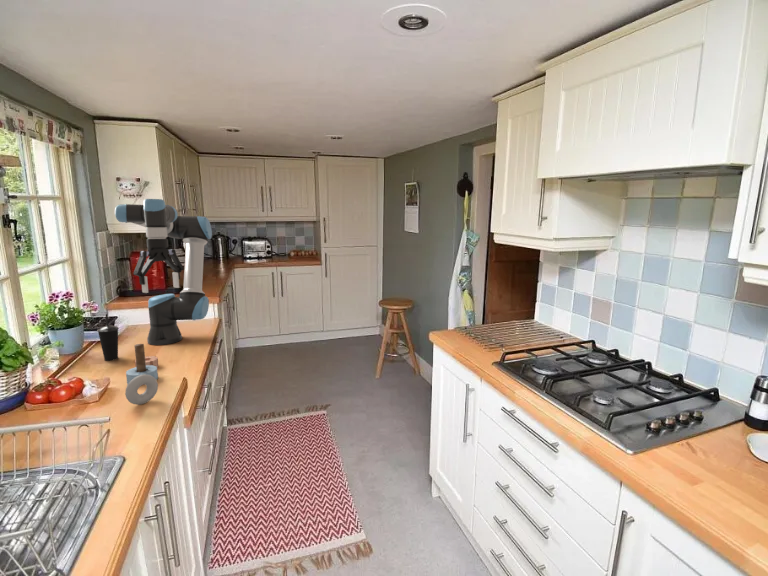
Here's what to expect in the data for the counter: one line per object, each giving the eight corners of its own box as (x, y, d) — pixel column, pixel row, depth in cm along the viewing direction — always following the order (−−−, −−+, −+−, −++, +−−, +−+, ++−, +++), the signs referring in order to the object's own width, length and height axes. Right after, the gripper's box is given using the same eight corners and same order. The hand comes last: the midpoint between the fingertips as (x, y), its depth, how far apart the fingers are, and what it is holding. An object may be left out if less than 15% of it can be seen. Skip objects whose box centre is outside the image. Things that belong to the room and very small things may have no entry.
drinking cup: (111, 362, 169) (106, 317, 165) (96, 361, 170) (90, 315, 167) (126, 356, 176) (121, 312, 173) (111, 355, 178) (106, 311, 174)
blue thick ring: (147, 373, 158) (146, 363, 157) (163, 377, 154) (162, 368, 153) (121, 382, 149) (120, 372, 148) (137, 387, 145) (136, 377, 144)
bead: (146, 363, 169) (145, 355, 168) (162, 364, 167) (162, 356, 166) (131, 370, 161) (130, 361, 160) (148, 371, 159) (147, 363, 159)
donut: (130, 410, 127) (127, 381, 126) (124, 408, 129) (121, 378, 127) (161, 399, 136) (158, 371, 134) (155, 396, 137) (153, 369, 136)
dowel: (143, 378, 153) (140, 343, 151) (148, 379, 152) (145, 344, 149) (136, 380, 150) (132, 345, 148) (141, 382, 149) (137, 346, 147)
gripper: (178, 236, 173) (182, 284, 176) (119, 238, 150) (125, 293, 154) (190, 237, 169) (193, 286, 173) (131, 239, 147) (137, 295, 151)
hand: (161, 290), depth 163 cm, fingers open, 13 cm apart
